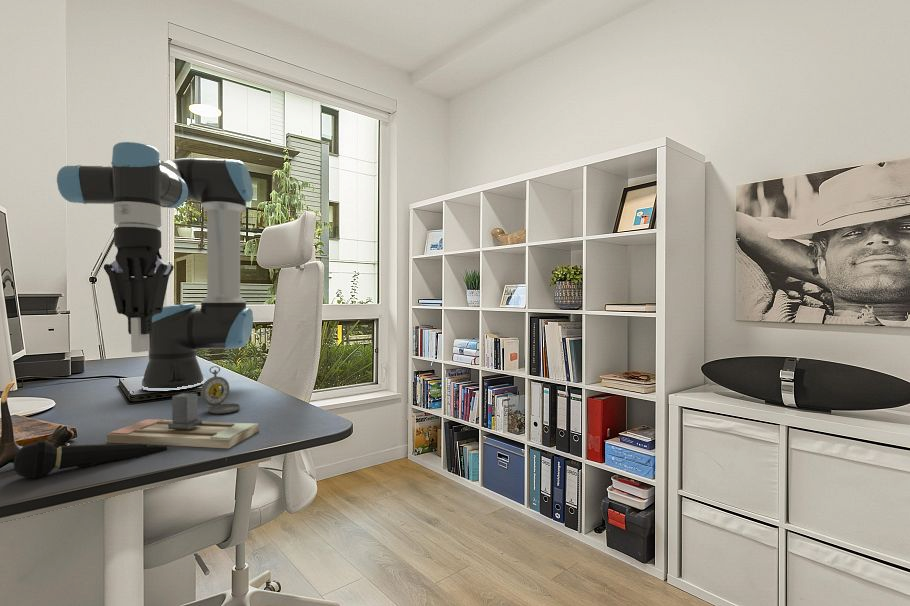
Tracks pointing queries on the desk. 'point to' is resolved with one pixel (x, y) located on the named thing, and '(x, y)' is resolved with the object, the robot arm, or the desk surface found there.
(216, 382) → the pocket watch
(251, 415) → the desk surface
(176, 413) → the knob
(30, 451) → the microphone
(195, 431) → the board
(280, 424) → the desk surface
